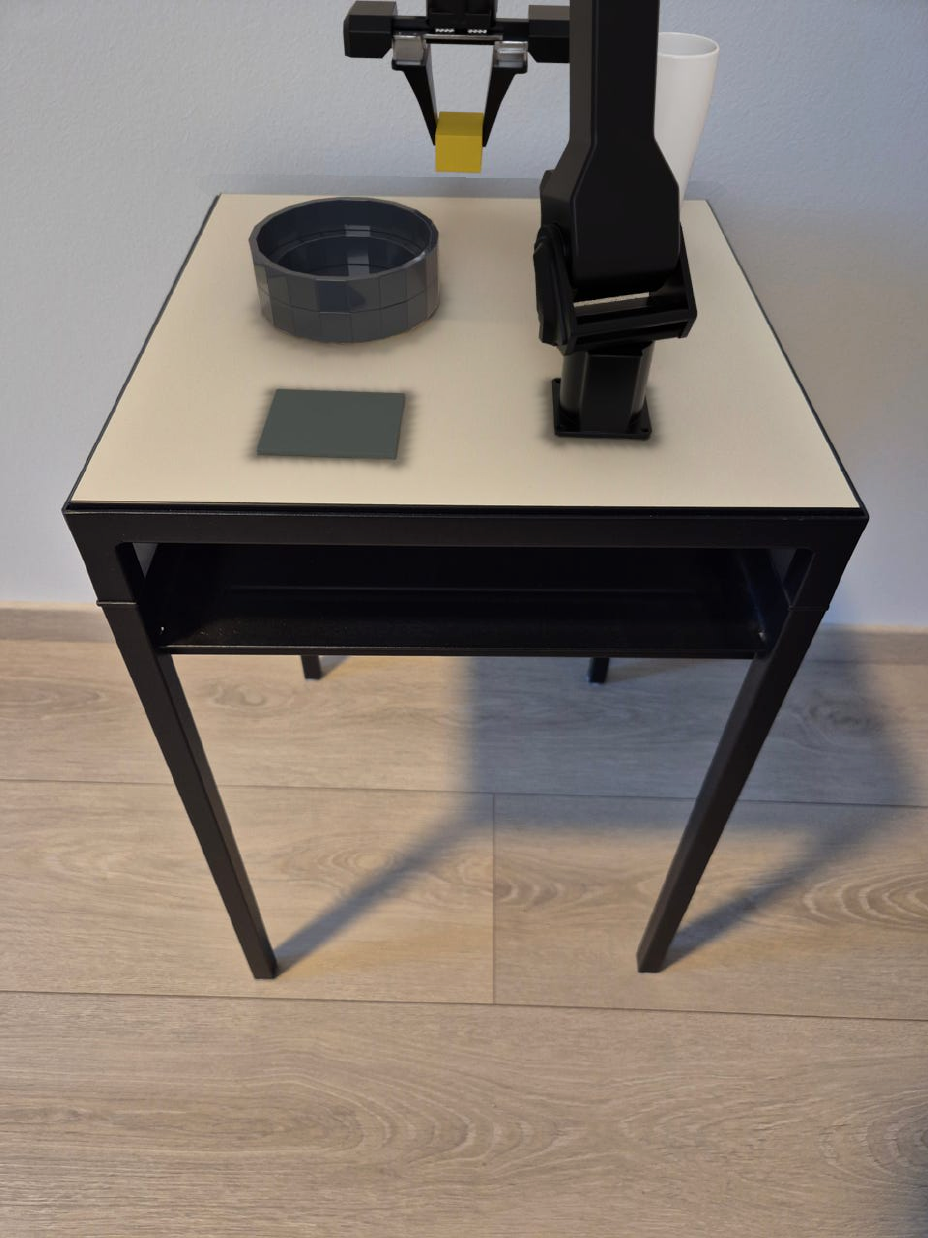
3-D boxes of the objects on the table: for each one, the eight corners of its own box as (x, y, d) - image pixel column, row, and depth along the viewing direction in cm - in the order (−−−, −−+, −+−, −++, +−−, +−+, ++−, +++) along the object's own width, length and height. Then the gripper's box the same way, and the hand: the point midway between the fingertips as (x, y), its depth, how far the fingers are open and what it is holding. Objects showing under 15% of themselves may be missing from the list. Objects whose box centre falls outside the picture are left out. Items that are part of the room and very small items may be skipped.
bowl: (433, 353, 64) (432, 282, 60) (244, 347, 65) (230, 276, 61) (443, 265, 74) (443, 199, 70) (278, 260, 74) (269, 193, 70)
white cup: (681, 256, 76) (721, 59, 65) (604, 248, 76) (630, 52, 65) (683, 223, 80) (721, 34, 69) (610, 216, 81) (636, 28, 70)
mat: (395, 459, 56) (395, 454, 55) (257, 454, 56) (256, 449, 56) (405, 397, 60) (404, 392, 60) (277, 393, 61) (276, 388, 60)
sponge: (480, 173, 76) (481, 136, 74) (435, 171, 76) (435, 134, 74) (482, 147, 80) (483, 111, 78) (439, 146, 80) (439, 110, 78)
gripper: (579, -95, 71) (561, 116, 82) (352, -100, 71) (366, 110, 83) (587, -66, 63) (566, 161, 75) (333, -73, 64) (351, 154, 75)
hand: (460, 144), depth 77 cm, fingers closed on sponge, 4 cm apart
